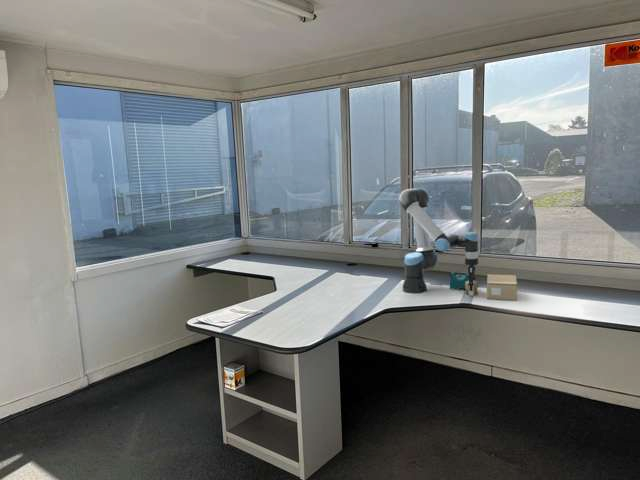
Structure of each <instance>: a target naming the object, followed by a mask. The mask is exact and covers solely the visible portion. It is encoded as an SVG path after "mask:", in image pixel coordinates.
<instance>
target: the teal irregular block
mask: <svg viewBox="0 0 640 480" xmlns="http://www.w3.org/2000/svg"><path fill="white" fill-rule="evenodd" d="M455 273H456V272H455V271H451V272H450V281H449V289H451V290H457V291H458V290H460V289H465V282H466V281H469V274H468V273H466V274H465V275H463V274H458V273H457V274H455Z"/></svg>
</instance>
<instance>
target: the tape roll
mask: <svg viewBox="0 0 640 480" xmlns="http://www.w3.org/2000/svg"><path fill="white" fill-rule="evenodd" d="M468 284H469V281H466V282H465V294H466V295H468V296H469V285H468ZM473 285H474V295H475V296H476V295H478V294H479V293H478V281H476V280H474V281H473Z"/></svg>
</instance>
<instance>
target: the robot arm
mask: <svg viewBox="0 0 640 480" xmlns="http://www.w3.org/2000/svg"><path fill="white" fill-rule="evenodd" d="M429 202H430V194H429V192H428V191H427V190H426V188H423V187H416V188H415V187H414V188H406V189H405V190H402V192H401V193H400V195H399V204H400V206H401V207H402V209H403V210H404V212H406V213H407V214H409V215H411V217H412V218H413V219H412V220H413V227H414V233H415V240H416V246H417V248H416V249H415V252H409V253H407V254H405V256H404V262H403V263H404V280H403V283H402V291H403V292H405V293H411V294H412V293H413V294H415V293H424V292H426V291H427V284H426V281H425V278H424V272H425V271H426V272H427V271H428V270H433V268H435V267H436V266H437V265H438V263H439V256H438V253H437V252H436V251H435V250H434V247H433V246H432V245H431V240H433V242H435V245H434V246H435V248H436V250H438V251H439V252H446V251H449V250H451V249H456V248H464V265H467V266H468V268H467V271H468V272H467V274H469V284H468V285H469V295H468V296H469V297H474V285H473V281H476V277H475V272H476V265H478V264H479V258H478V257H479V255H480V252H479V234H478V233H477V232H475V231H467V232H465V233H464V235H462V234H454V233H452V234H451V233H450V234H448V235H447V234H446V233H445V232H444V231H443V230H442V229H441V228H440V227H439V226H438V225H437V224H436V222H435V221H433V219H432V218H431V217H430V216H429V215H428V214H427V211H426V210H427V209H428V203H429ZM430 238H431V239H430Z"/></svg>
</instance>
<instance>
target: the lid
mask: <svg viewBox="0 0 640 480" xmlns="http://www.w3.org/2000/svg"><path fill="white" fill-rule="evenodd" d="M487 284H501V285H517V286H518V281H517V276H516V275H515V274H514V275H511V274H508V275H507V274H487V278H486V285H487Z"/></svg>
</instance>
